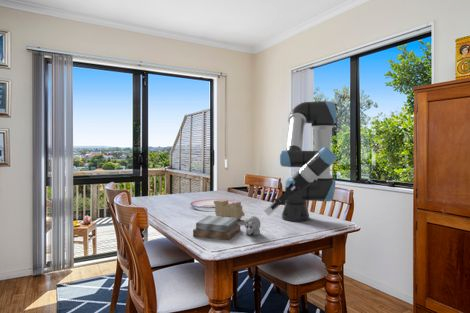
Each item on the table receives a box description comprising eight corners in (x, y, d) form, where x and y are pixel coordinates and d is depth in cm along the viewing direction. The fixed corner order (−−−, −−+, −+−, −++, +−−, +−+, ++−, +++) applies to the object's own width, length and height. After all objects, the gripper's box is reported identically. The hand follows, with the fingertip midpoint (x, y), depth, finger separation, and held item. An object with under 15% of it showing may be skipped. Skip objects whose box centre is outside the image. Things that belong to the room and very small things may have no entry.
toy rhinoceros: (240, 238, 137) (240, 219, 137) (247, 231, 149) (247, 213, 148) (256, 240, 135) (256, 221, 135) (261, 233, 146) (262, 215, 146)
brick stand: (240, 230, 151) (240, 217, 151) (228, 240, 135) (229, 226, 135) (207, 227, 156) (207, 215, 156) (193, 236, 140) (193, 223, 140)
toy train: (239, 222, 167) (239, 203, 166) (213, 218, 176) (213, 200, 176) (244, 220, 171) (244, 202, 171) (219, 216, 181) (219, 199, 180)
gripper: (308, 187, 120) (270, 223, 125) (312, 180, 144) (280, 210, 149) (295, 173, 122) (257, 209, 127) (301, 168, 145) (269, 199, 150)
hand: (269, 210), depth 138 cm, fingers open, 13 cm apart
